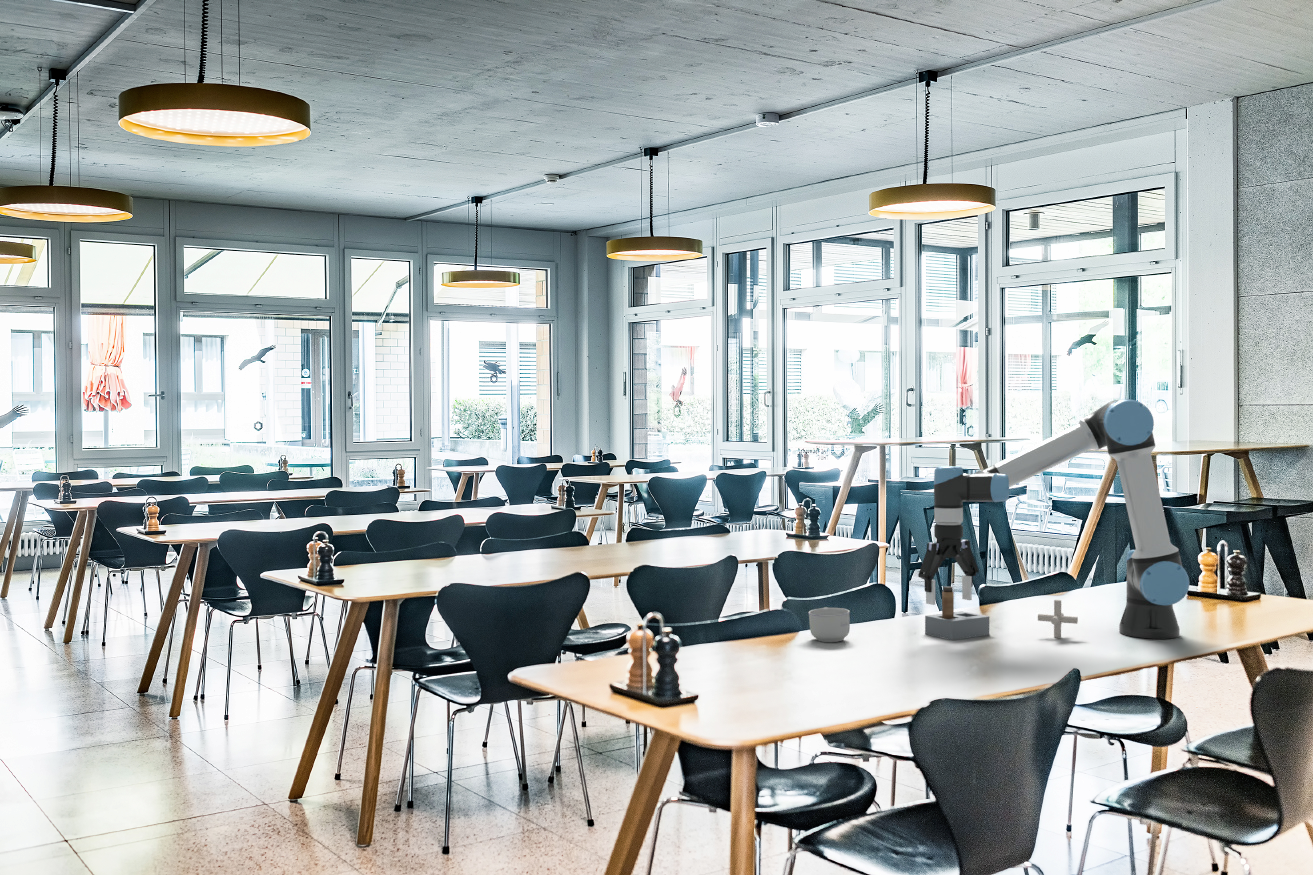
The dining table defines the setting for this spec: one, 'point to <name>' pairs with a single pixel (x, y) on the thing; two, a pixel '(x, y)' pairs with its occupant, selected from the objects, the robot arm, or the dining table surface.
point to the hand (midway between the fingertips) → (949, 601)
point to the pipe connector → (1057, 618)
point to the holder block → (957, 625)
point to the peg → (948, 603)
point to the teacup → (829, 624)
